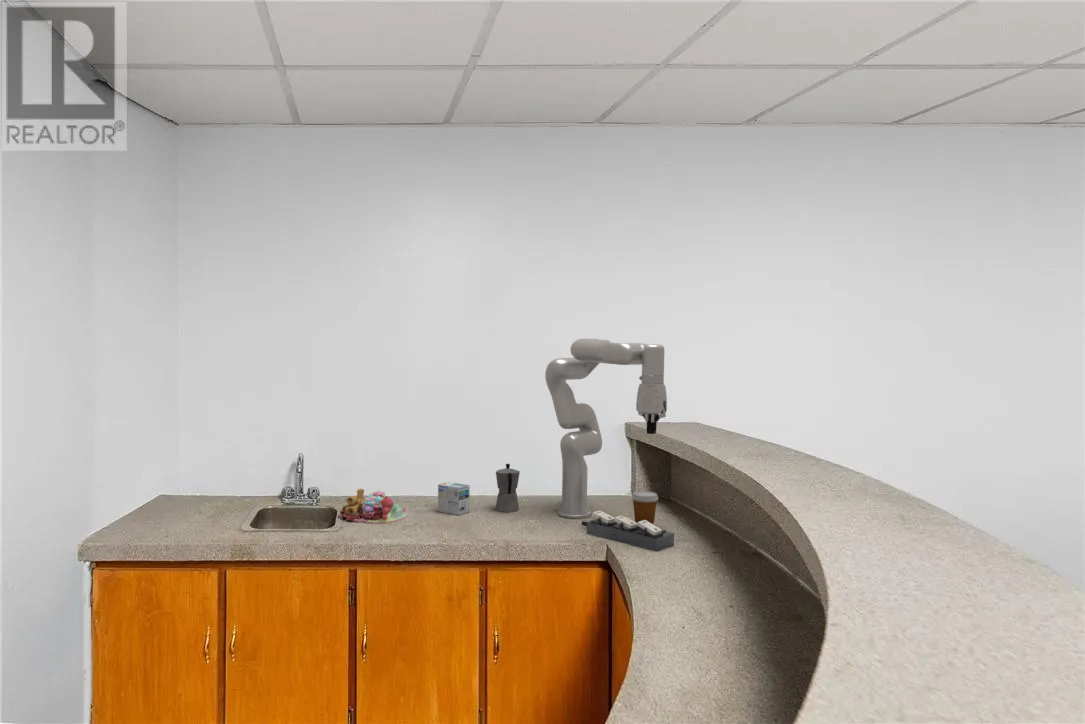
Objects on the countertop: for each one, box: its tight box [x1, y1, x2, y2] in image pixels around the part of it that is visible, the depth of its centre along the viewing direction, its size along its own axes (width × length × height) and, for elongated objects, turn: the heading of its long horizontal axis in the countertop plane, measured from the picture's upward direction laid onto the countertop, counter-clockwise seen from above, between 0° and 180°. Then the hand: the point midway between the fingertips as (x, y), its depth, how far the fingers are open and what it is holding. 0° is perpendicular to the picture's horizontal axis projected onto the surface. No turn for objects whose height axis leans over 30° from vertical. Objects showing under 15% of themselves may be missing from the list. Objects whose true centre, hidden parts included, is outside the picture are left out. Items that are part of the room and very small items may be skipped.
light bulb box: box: [437, 481, 471, 516], centre depth 288 cm, size 11×7×11 cm, turn 58°
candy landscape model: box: [338, 488, 408, 525], centre depth 281 cm, size 25×24×9 cm
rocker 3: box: [637, 520, 663, 535], centre depth 246 cm, size 7×4×1 cm, turn 47°
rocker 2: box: [614, 515, 638, 529], centre depth 253 cm, size 7×4×1 cm, turn 47°
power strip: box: [581, 518, 675, 552], centre depth 257 cm, size 35×10×6 cm, turn 47°
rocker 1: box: [591, 510, 615, 523], centre depth 259 cm, size 7×4×1 cm, turn 47°
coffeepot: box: [494, 463, 521, 513], centre depth 292 cm, size 15×9×18 cm, turn 9°
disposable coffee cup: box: [631, 490, 659, 525], centre depth 271 cm, size 10×10×12 cm
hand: (651, 433), depth 260 cm, fingers closed
